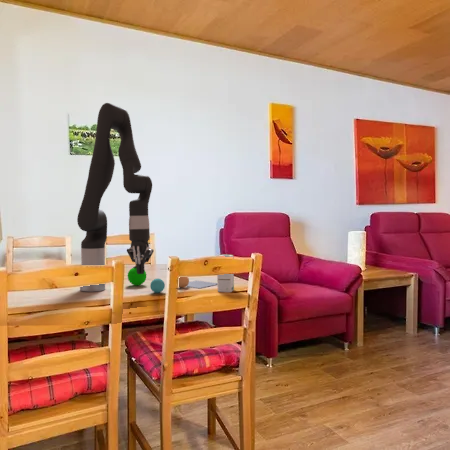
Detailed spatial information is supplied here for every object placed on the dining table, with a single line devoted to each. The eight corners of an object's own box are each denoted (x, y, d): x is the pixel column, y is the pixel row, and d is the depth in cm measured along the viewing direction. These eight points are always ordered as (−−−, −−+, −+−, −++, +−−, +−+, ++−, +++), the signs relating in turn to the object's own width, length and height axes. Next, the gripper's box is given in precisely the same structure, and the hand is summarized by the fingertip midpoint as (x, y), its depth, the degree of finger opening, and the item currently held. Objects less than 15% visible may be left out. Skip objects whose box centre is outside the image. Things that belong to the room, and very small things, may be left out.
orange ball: (175, 289, 173) (175, 275, 173) (176, 286, 179) (176, 273, 179) (188, 288, 174) (188, 275, 173) (189, 286, 179) (189, 273, 179)
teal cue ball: (149, 294, 162) (149, 279, 162) (151, 291, 168) (151, 277, 168) (163, 294, 163) (163, 279, 162) (165, 291, 168) (165, 277, 168)
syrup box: (231, 292, 166) (231, 255, 165) (217, 291, 167) (216, 255, 167) (234, 289, 171) (234, 254, 171) (220, 289, 173) (220, 254, 172)
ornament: (149, 286, 181) (149, 262, 180) (131, 287, 176) (131, 264, 176) (142, 283, 187) (142, 261, 187) (125, 285, 183) (124, 262, 183)
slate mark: (199, 288, 174) (199, 288, 174) (175, 285, 183) (175, 284, 183) (220, 284, 185) (220, 283, 185) (196, 280, 194) (196, 280, 194)
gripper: (158, 227, 156) (160, 273, 157) (135, 227, 164) (136, 271, 165) (143, 228, 150) (145, 276, 151) (119, 228, 158) (121, 273, 159)
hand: (140, 273), depth 158 cm, fingers closed
